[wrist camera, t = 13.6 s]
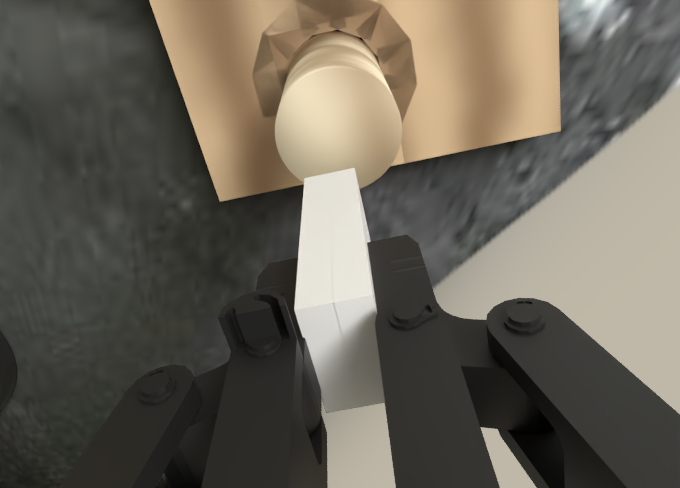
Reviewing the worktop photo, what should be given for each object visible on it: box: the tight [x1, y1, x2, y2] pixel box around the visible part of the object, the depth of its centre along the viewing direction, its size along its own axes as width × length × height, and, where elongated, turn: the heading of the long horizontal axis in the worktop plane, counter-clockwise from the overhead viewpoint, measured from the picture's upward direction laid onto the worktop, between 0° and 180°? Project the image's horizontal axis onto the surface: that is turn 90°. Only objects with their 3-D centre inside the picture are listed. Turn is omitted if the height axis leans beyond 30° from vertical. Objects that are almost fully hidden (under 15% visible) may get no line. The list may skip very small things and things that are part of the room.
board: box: [149, 0, 561, 202], centre depth 33 cm, size 22×16×3 cm
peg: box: [275, 31, 402, 189], centre depth 29 cm, size 6×6×13 cm
